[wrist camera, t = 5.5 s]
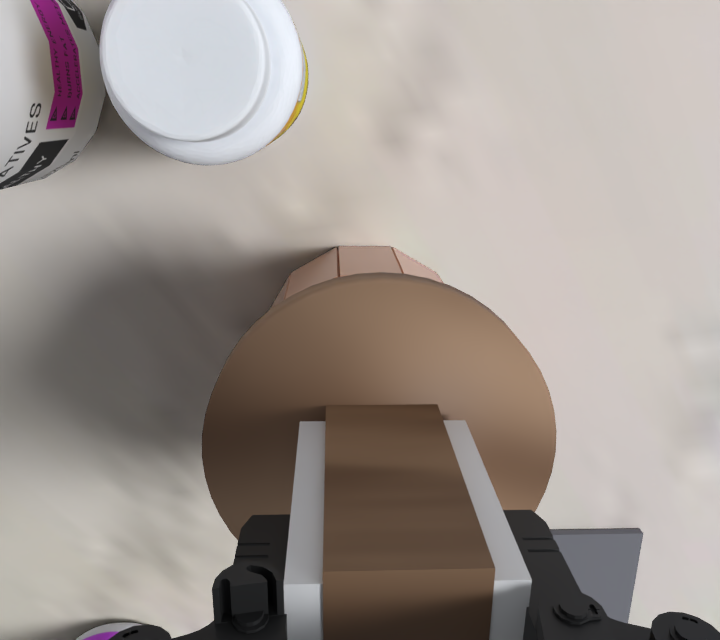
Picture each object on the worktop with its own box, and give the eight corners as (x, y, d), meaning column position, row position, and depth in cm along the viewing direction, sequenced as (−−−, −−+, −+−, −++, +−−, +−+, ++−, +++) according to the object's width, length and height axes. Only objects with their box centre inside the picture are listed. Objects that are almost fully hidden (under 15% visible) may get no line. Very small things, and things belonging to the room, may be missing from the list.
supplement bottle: (173, 151, 26) (81, 176, 16) (158, -2, 24) (44, -74, 15) (313, 148, 26) (302, 172, 17) (307, -4, 25) (292, -76, 15)
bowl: (453, 427, 31) (476, 487, 26) (268, 429, 30) (257, 489, 25) (465, 246, 28) (492, 275, 23) (262, 245, 28) (248, 274, 23)
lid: (528, 570, 22) (634, 822, 14) (219, 576, 22) (156, 839, 14) (560, 272, 19) (720, 388, 11) (198, 272, 18) (101, 393, 11)
